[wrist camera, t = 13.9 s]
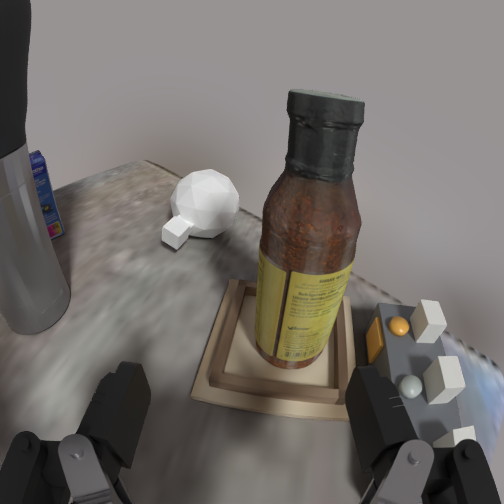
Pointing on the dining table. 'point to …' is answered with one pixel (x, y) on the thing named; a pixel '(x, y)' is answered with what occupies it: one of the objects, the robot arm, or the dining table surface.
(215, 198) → the faceted ball with stub
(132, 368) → the robot arm
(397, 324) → the breaker bank
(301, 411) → the square beige tray
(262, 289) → the sauce bottle
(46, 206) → the ink cartridge box
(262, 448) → the dining table surface
